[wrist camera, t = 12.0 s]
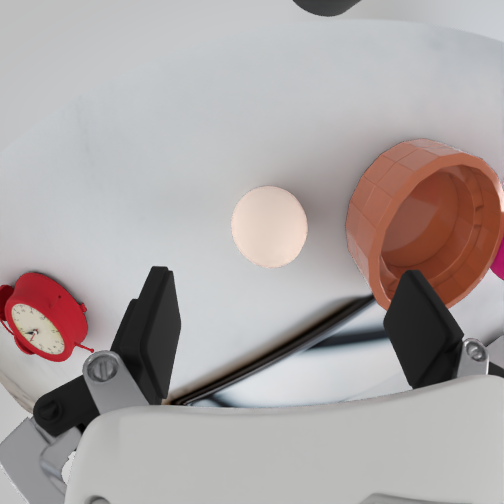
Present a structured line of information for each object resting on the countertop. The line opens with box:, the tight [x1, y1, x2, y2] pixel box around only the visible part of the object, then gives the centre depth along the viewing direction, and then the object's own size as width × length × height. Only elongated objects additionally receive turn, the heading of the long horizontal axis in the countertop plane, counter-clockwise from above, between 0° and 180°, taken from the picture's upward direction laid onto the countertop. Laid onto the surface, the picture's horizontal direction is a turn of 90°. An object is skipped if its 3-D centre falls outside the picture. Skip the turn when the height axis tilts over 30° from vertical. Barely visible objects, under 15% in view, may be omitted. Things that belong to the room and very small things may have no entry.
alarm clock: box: [0, 273, 94, 362], centre depth 24 cm, size 10×6×15 cm
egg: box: [231, 186, 308, 268], centre depth 18 cm, size 5×5×7 cm
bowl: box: [345, 138, 504, 311], centre depth 19 cm, size 14×14×6 cm
